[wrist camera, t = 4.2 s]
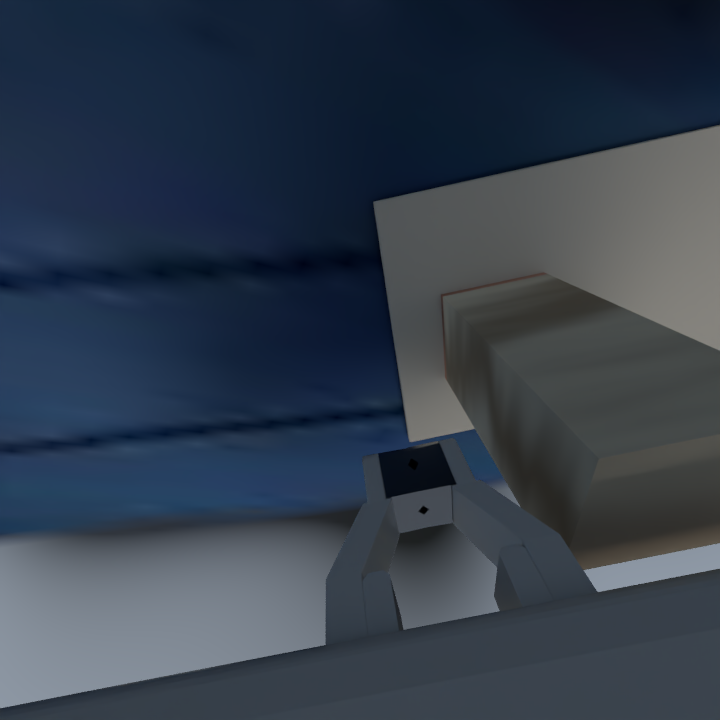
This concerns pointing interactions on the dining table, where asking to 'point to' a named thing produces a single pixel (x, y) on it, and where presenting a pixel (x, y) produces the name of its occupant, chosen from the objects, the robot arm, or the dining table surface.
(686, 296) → the sand mat
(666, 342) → the birch block
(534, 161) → the dining table surface
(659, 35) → the dining table surface
